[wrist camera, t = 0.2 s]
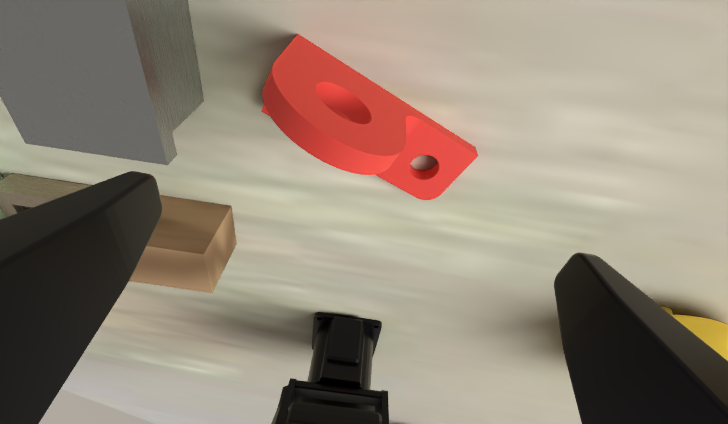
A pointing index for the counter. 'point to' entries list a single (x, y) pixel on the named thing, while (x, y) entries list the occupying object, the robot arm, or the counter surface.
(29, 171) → the counter surface
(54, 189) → the pin socket
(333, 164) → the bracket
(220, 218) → the block
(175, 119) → the trolley
